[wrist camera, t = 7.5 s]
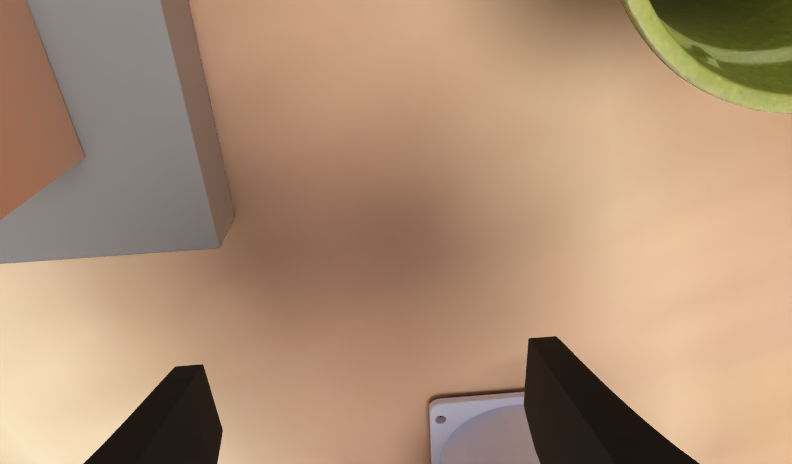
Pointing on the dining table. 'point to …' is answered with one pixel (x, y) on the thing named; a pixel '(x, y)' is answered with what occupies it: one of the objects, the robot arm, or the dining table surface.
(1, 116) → the terracotta cube
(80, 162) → the slate plinth
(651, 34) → the plant pot
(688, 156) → the dining table surface
